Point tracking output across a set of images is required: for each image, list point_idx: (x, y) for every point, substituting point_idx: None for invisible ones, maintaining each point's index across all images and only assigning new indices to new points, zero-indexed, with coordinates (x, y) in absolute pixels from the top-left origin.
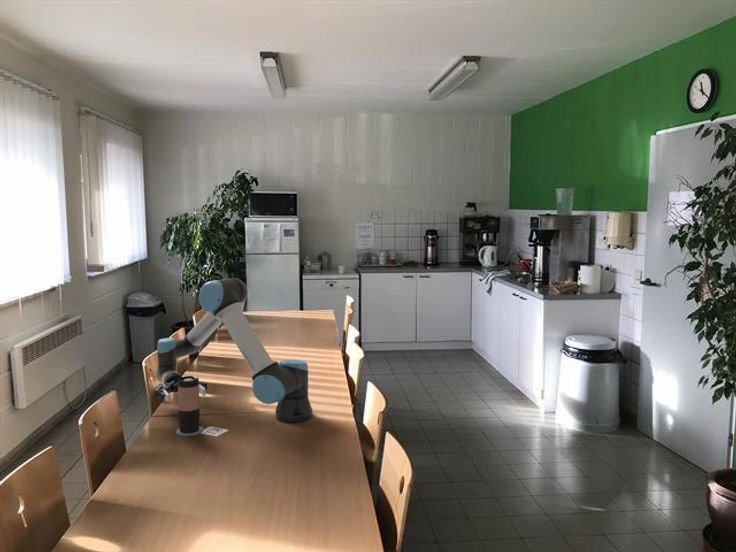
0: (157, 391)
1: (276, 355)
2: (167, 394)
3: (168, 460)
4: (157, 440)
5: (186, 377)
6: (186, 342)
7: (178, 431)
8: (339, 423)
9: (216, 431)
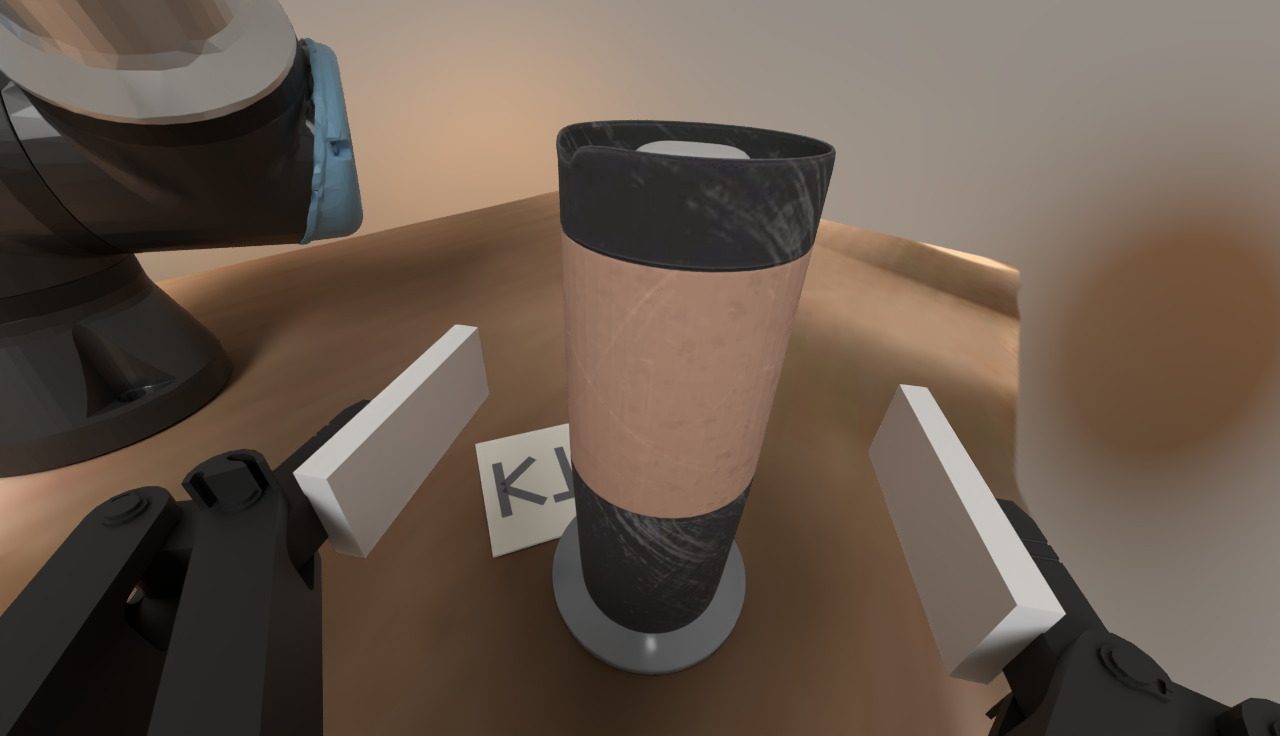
0: (1227, 719)
1: None
2: (922, 395)
3: (827, 371)
4: (879, 568)
5: (671, 177)
6: None
7: (727, 588)
8: (186, 289)
9: (532, 465)
